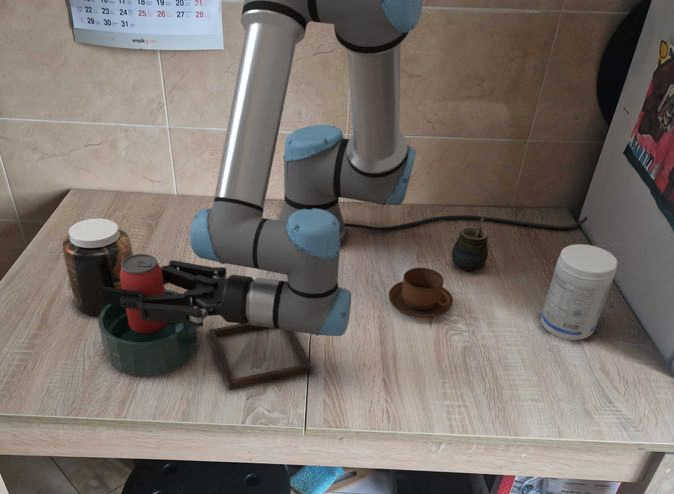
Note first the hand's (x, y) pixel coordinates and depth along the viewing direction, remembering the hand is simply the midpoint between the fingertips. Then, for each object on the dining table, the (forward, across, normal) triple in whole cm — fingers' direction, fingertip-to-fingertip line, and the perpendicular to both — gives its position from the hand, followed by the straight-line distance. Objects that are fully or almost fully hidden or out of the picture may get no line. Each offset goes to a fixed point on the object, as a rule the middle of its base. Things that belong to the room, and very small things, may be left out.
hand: (113, 282), depth 105 cm
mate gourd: (-58, +40, -13) cm, 72 cm away
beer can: (-5, 0, -8) cm, 9 cm away
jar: (+9, +12, -13) cm, 19 cm away
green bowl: (-5, 0, -13) cm, 14 cm away
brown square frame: (-23, +2, -13) cm, 27 cm away
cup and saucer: (-49, +23, -13) cm, 56 cm away
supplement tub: (-76, +23, -13) cm, 81 cm away
